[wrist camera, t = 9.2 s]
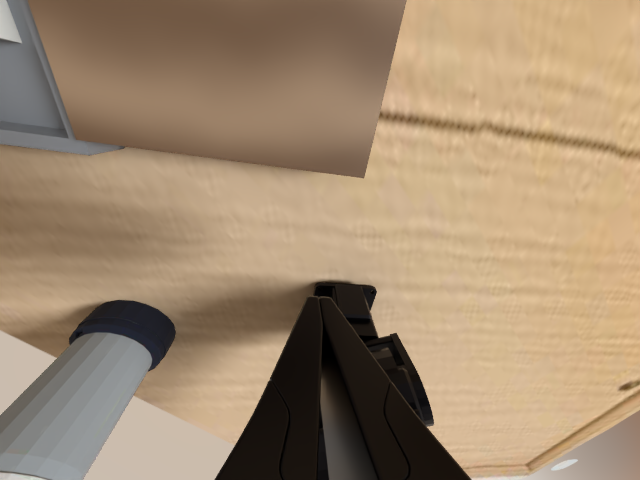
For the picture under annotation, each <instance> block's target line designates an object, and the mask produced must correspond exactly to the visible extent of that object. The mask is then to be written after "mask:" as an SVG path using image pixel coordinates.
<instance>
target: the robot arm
mask: <svg viewBox="0 0 640 480" xmlns="http://www.w3.org/2000/svg"><path fill="white" fill-rule="evenodd" d="M319 287H322V288H319ZM370 291H372V292H370ZM376 293H377V291H376V288H375V287H373V286H362V285H347V284H333V283H317V284H316V285H315V290H314V295H313V296H308V297H307V298H306V301H305V303H304V305H303V307H302V309H301V312H300V314H299V316H298V318H297V320H296V323H295V325H294V327H293V329H292V331H291V334H290V336H289V338H288V340H287V342H286V344H285V347H284V349H283V351H282V353H281V355H280V358H279V360H278V362H277V364H276V366H275V369H274V371H273V373H272V375H271V377H270V381H268V384H267V386H266V388H265V390H264V392H263V395H262V397H261V399H260V401H259V403H258V405H257V407H256V409H255V411H254V413H253V415H252V417H251V418H250V420H249V422H248V424H247V426H246V427H245V429H244V431H243V433H242V434H241V436H240V438H239V440H238V441H237V443H236V445H235V447H234V448H233V450H232V452H231V453H230V455H229V457H228V458H227V460H226V462H225V463H224V465H223V467H222V468H221V470H220V472H219V473H218V475H217V477H216V478H215V480H471V478H470V477H469V476H468V475H467V474H466V473H465V471H464V470H463V469H462V468H461V467H460V466H459V464H458V463H457V462H456V461H455V460H454V459H453V457H452V456H451V455H450V454H449V453H448V452H447V450H446V449H445V448H444V447H443V446H442V445H441V443H440V442H439V441H438V440H437V439H436V438H435V436H434V435H433V434H432V433H431V432H430V430H429V429H428V428H427V427H428V426H433V425H434V420H433V415H432V411H431V407H430V404H429V401H428V398H427V395H426V392H425V389H424V387H423V384H422V382H421V379H420V377H419V375H418V373H417V371H416V369H415V367H414V365H413V363H412V361H411V359H410V357H409V356H408V354H407V352H406V350H405V348H404V346H403V344H402V343H401V341H400V339H399V337H398V335H397V333H394V334H390V336H385V337H381V338H379V337H378V334H377V331H376V329H375V326H374V323H373V320H372V316H371V313H370V310H371V307H372V304H373V302H374V299H375V296H376Z"/></svg>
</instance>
